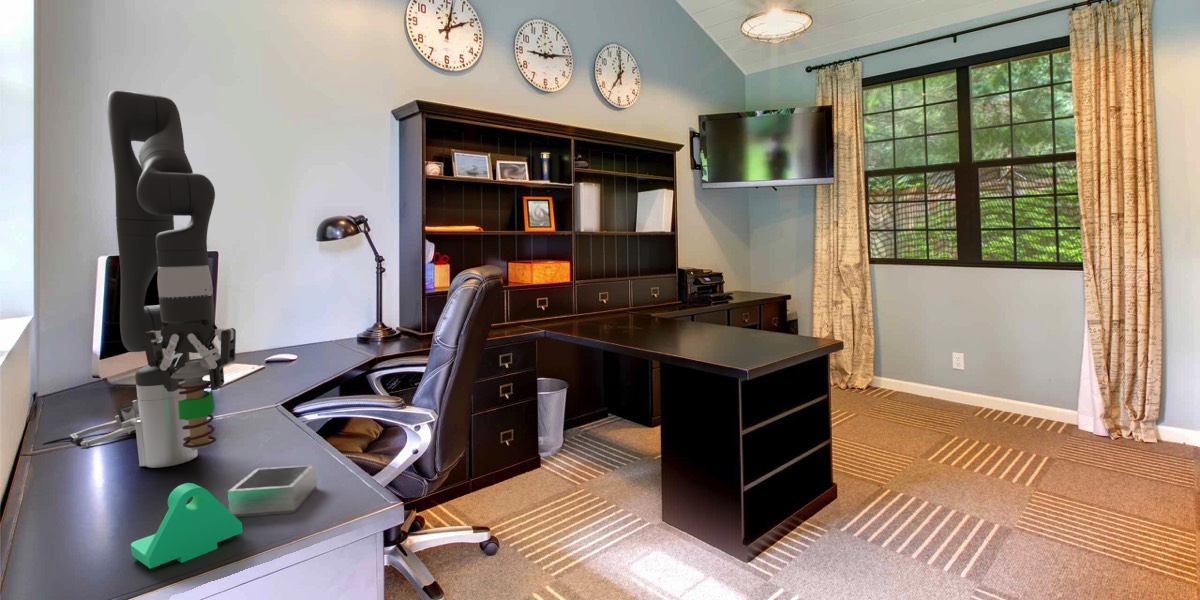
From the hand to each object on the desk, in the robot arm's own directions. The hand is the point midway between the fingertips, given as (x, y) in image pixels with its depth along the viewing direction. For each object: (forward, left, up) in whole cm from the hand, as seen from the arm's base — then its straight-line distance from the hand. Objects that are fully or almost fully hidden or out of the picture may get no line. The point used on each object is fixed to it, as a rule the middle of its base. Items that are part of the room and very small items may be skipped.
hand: (195, 389), depth 102 cm
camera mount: (+6, -16, -21) cm, 27 cm away
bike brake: (-47, +45, -21) cm, 68 cm away
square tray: (+12, -1, -20) cm, 24 cm away
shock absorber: (0, 0, -10) cm, 10 cm away
